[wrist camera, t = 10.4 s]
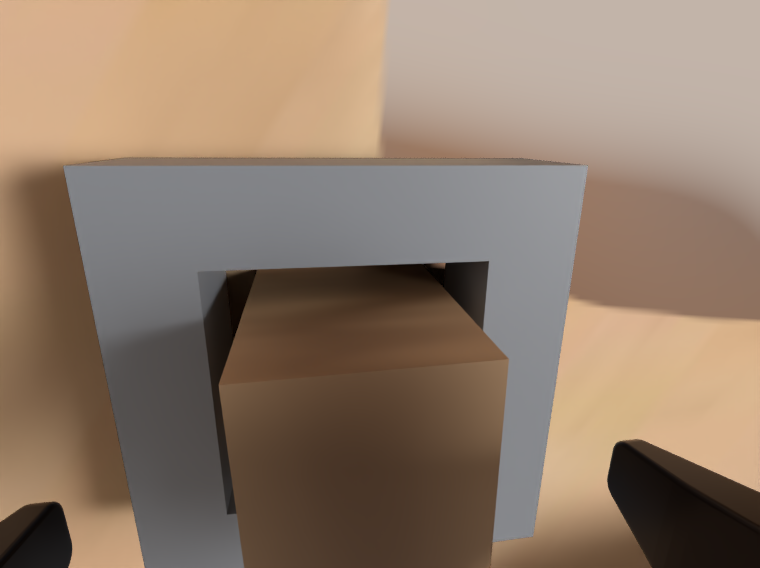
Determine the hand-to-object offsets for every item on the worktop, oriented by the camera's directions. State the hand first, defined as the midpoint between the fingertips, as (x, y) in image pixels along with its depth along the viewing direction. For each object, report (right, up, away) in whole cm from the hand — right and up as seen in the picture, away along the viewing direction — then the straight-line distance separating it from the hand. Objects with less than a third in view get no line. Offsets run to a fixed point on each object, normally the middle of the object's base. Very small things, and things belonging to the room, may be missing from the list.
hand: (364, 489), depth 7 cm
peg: (-1, +2, +6) cm, 6 cm away
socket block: (-1, +2, +6) cm, 6 cm away
